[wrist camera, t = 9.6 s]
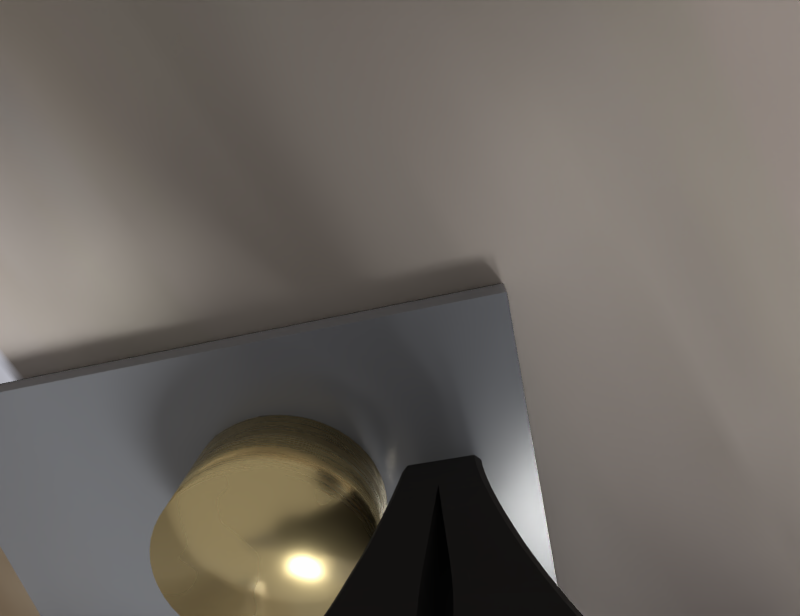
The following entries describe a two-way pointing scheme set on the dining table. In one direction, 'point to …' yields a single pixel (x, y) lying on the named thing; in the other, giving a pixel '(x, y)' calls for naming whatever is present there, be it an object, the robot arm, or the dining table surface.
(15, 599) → the beech rail
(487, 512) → the robot arm
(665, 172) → the dining table surface
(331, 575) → the gold metal dome
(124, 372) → the slate board
